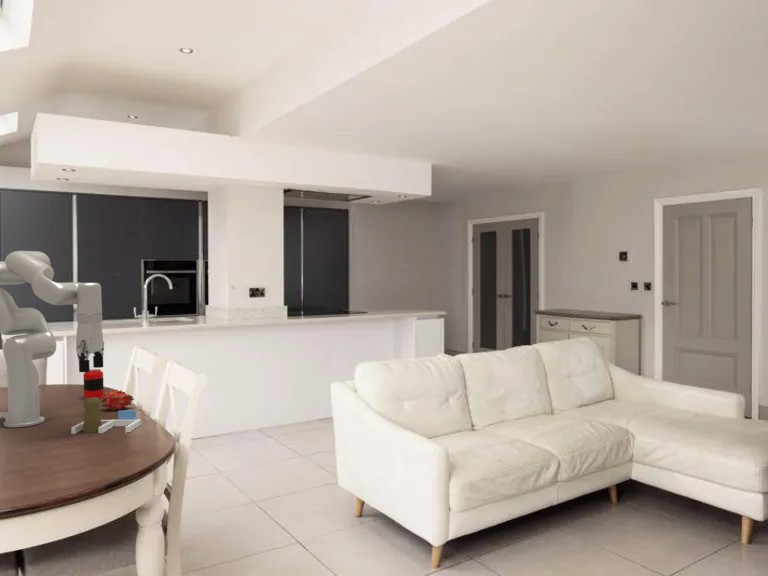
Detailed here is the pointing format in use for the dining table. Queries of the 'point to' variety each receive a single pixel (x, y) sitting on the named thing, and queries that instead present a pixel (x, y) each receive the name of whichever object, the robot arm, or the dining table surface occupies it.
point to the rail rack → (115, 422)
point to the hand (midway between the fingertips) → (91, 369)
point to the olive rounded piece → (91, 415)
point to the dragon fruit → (116, 400)
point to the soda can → (93, 384)
